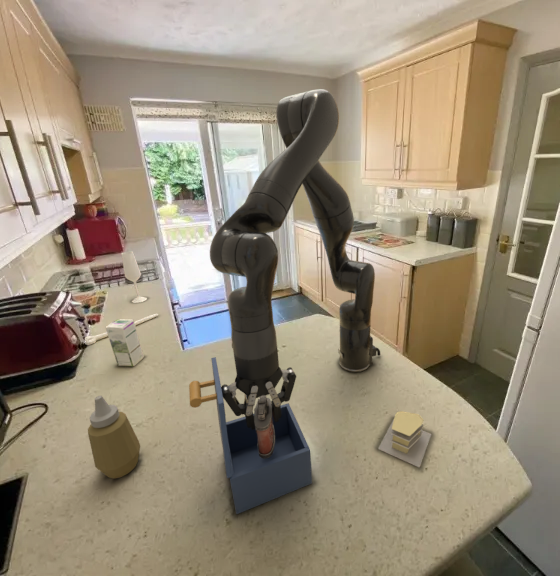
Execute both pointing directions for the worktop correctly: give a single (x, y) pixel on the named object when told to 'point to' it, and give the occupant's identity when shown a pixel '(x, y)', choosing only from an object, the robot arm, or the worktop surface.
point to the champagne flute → (132, 272)
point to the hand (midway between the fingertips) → (264, 422)
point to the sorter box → (267, 462)
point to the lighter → (264, 427)
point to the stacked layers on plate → (406, 438)
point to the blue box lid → (197, 400)
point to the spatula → (93, 339)
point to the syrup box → (125, 342)
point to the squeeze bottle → (112, 440)
